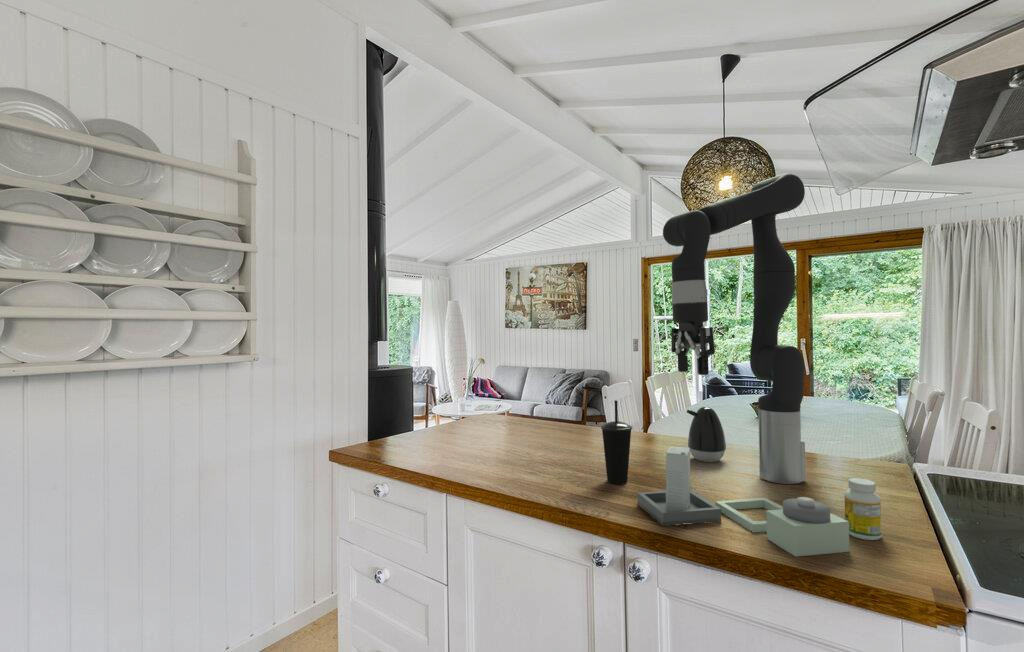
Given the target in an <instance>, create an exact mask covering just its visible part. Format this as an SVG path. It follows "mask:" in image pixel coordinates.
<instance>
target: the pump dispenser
mask: <svg viewBox="0 0 1024 652" xmlns="http://www.w3.org/2000/svg"><path fill="white" fill-rule="evenodd" d="M686 413H687V414H689V415H691V416H693V418H692V420H691V424H690V425H689V430H688V436H687V437H688V438H687V448H690V455H691V456H692V457H693V458H694V459H695V460H697V461H700V462H702V461H704V462H703V463H716V462H718V461H721V459H722V458H723V457H724V455H725V451H726V450H727V441H726V436H725V432H724V431H725V430H724V427H723V425H722V422H721V420H720V418H719V416H718V414H717V413H716V411H715V410H714V409H713V408H711V407H710V406H703V407H699V408H698V410H697V411H695V410H691V409H687V410H686Z"/></svg>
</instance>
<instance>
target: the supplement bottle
mask: <svg viewBox="0 0 1024 652" xmlns="http://www.w3.org/2000/svg"><path fill="white" fill-rule="evenodd" d="M876 484H877V483H876V482H875V481H873V480H870V479H865V478H859V477H857V478H856V477H853V478H849V479H848V485H847V486H848V488H849V489H847V490H846V491H845V492H844V495H843V496H844V520H846V521H848V522H849V536H852V537H854V538H857V539H861V540H865V541H866V540H867V541H877V540H880V539H881V538H882V502H881V497H880V496H879V495H878V494H877V493H875V492H876V490H877V488H876V487H877V486H876Z"/></svg>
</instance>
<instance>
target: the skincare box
mask: <svg viewBox="0 0 1024 652" xmlns="http://www.w3.org/2000/svg"><path fill="white" fill-rule="evenodd" d="M665 458H666V459H665V491H666V511H673V510H686V509H689V506H690V490H691V452H690V448H689V447H683V446H669V447H668V450H667V452H666V455H665Z"/></svg>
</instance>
